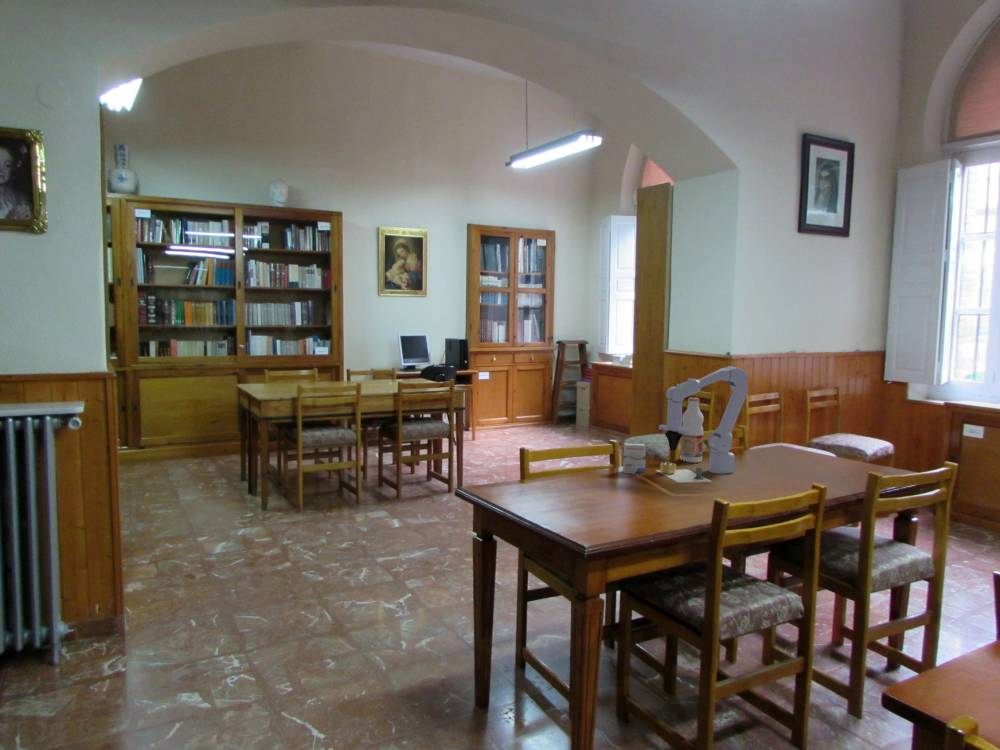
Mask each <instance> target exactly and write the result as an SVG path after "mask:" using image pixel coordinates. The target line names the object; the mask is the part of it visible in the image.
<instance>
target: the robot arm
mask: <svg viewBox="0 0 1000 750" xmlns="http://www.w3.org/2000/svg"><path fill="white" fill-rule="evenodd" d="M748 379H749V376H748V373H747V372H746V370H745V369H743V368H742V367H737V366H736V367H735V366H732V365H728V366H727V365H726V367H722V368H719V369H718V370H714V372H711V373H709V374H707V375H705V376H703V377H701V378H699V379H696V378H691V377H690V378H687V381H684V382H682V383H677V384H676V386H670V387H668V389H667V390H666V392H665V398H666V399H667V407H666V408H667V412H666V424H659V425H658V429H659V431H665V433H664V436H665V437H666V439H667V441H668V442H667V443H668V445H669V450H670V451H676V450H677V449H678V445H679V442H680V441H681V437H682V435H683V434H684V435H689V430H687V429H684V428H682V425H683V420H682V416H683V401H684V400H685V398H689V397H691V396H692V395H695V394H697V393H700V391H701V389H702V388H703V387H706V386H708V385H711V384H714V383H716V382H720V381H725V382H726V383H728V384H729V387H730V388H731V390H732V393H731V396H730V398H729V400H728V403H727V406H726V408H725V411H724V413H723V415H722V418H721V420H720V423H719V425H718V427H717V428H716V429H714V430H713V433H712V434H711V435H710V436H709V438H708V439H707V444H708V446H709V448H710V449H709V460H708V461H709V462H708V463H709V464H708V465H709V466H708V472H710V473H713V474H717V475H718V474H719V475H720V474H723V475H724V474H735V471H736V470H735V467H736V458H735V454H734V453H733V452H730V451H731V449H732V441H733V432H732V431H733V429H734V427H735V425H736V422H737V419H738V417H739V415H740V412H741V410H742V407H743V406H744V405H743V404H744V402H745V400H746V398H747V395H748V392H749V387H748ZM666 431H667V432H666Z"/></svg>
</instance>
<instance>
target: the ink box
mask: <svg viewBox="0 0 1000 750" xmlns="http://www.w3.org/2000/svg"><path fill="white" fill-rule="evenodd" d="M646 453H647V446H646V444H645V443H628V442H627V443H625V442H624V443H623V461H622V463H623V464H622V471H623V472H622V473H623V474H624V473H634V474H633V475H640V473H646V461H647V460H646V459H647V456H646V455H647V454H646ZM635 473H636V474H635Z"/></svg>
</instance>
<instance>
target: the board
mask: <svg viewBox="0 0 1000 750" xmlns="http://www.w3.org/2000/svg"><path fill="white" fill-rule="evenodd" d="M695 469H696V471H695V472H693V471H692V470H689V469H687V468H686V469H676V472H675V473H674V474H663V473H662V472H661V471H660V470H659V469H656V470H655V472H658V473H660V474H662V475H663V476H665V477H667V478H669V479H671V480H673V481H674V482H677V483H706V482H713V481H712V480H710V479H708V478H707V477H704V476H702V475H703V474H702V473H703V472H702V469H703V468H702V467H696V468H695Z"/></svg>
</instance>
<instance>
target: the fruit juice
mask: <svg viewBox="0 0 1000 750" xmlns="http://www.w3.org/2000/svg"><path fill="white" fill-rule="evenodd" d="M687 398H688V399H687V402H688V404H687V408H686V409H685V411H684V412H683V413H682V425H681V428H684V429H687V430H689V435H684V434H683V435H682V437H681V438H680V451H679V454H680V455H679V459H680V461H682V460H683V461H682V462H685V461H686V462H685V463H701V462H702V461H703V448H704V447H703V446H704V445H703V444H704V427H703V423H704V414H703V413H702V411H701V409H700V406H699V405H700V404H699V403H700V398H699V397H693V396H690V397H687Z"/></svg>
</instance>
